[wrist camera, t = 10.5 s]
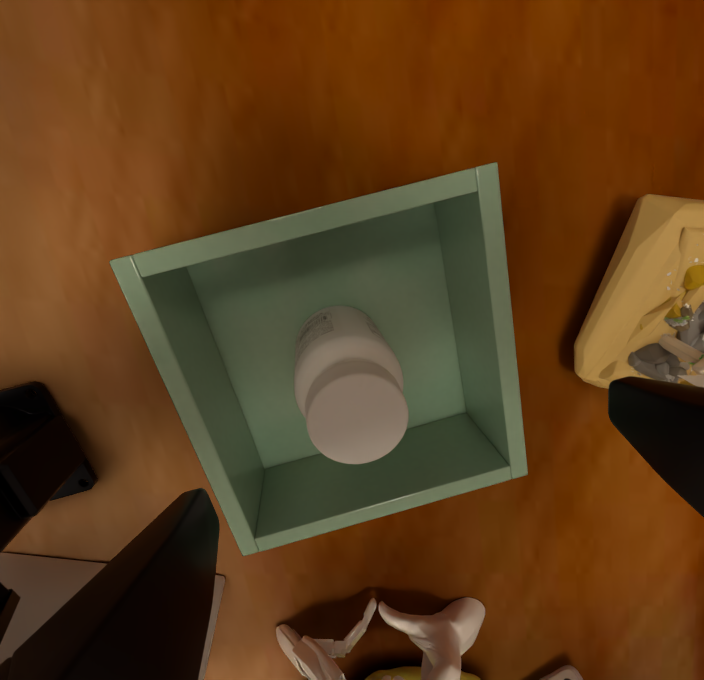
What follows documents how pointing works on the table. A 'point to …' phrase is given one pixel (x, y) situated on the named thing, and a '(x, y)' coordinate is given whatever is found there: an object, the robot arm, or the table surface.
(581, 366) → the miniature beach sign
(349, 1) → the table surface
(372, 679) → the bottle
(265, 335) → the basin
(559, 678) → the smartphone
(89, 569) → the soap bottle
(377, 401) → the pill bottle
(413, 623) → the hands statue
